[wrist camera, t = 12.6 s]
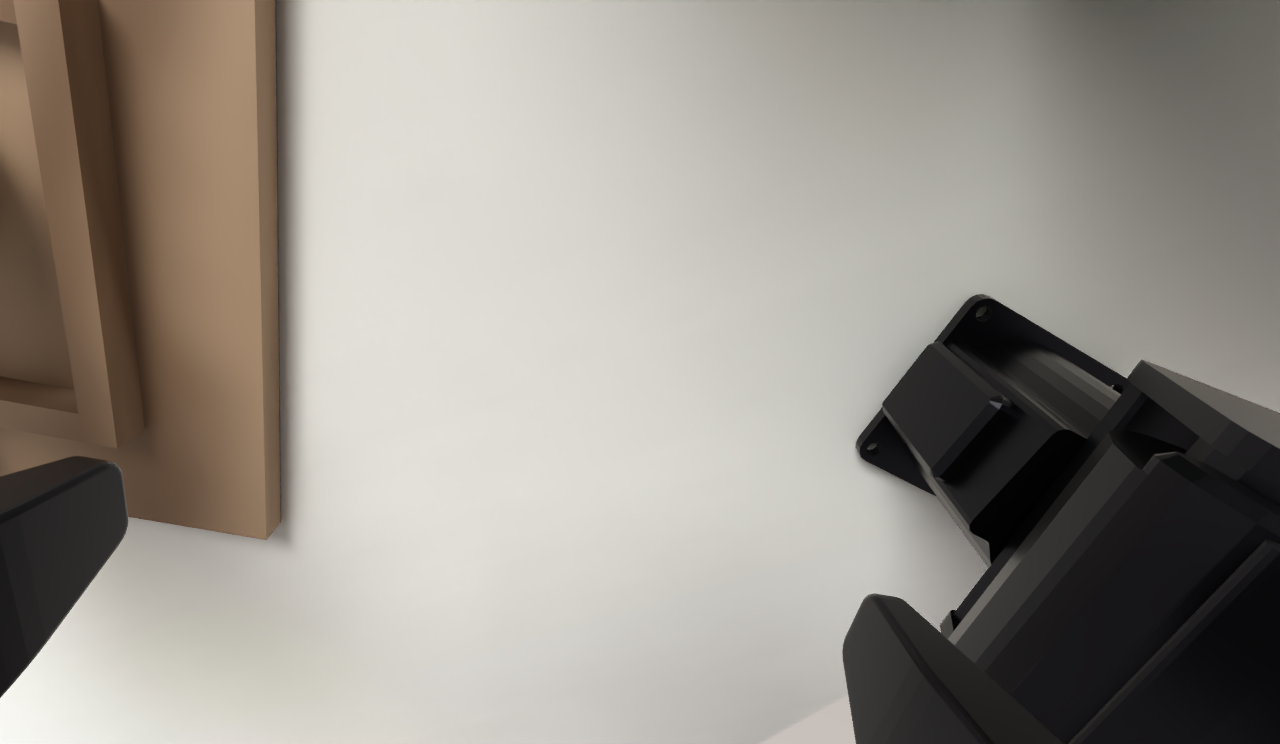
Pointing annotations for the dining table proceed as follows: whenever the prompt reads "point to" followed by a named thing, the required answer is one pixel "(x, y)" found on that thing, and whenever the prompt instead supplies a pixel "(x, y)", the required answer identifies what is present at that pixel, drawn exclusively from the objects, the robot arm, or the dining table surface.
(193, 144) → the walnut bottle stand
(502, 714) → the dining table surface
